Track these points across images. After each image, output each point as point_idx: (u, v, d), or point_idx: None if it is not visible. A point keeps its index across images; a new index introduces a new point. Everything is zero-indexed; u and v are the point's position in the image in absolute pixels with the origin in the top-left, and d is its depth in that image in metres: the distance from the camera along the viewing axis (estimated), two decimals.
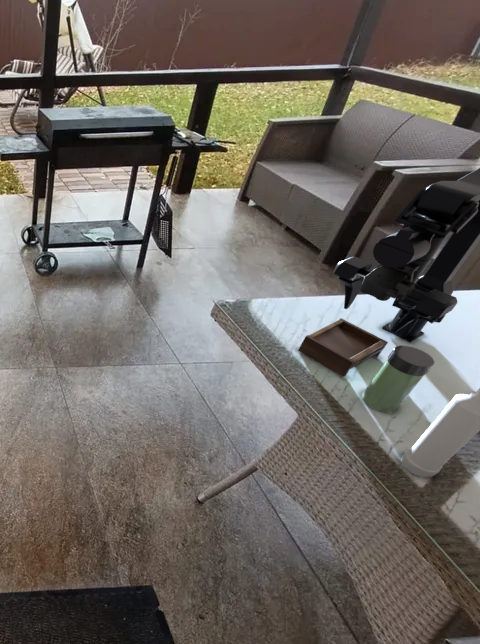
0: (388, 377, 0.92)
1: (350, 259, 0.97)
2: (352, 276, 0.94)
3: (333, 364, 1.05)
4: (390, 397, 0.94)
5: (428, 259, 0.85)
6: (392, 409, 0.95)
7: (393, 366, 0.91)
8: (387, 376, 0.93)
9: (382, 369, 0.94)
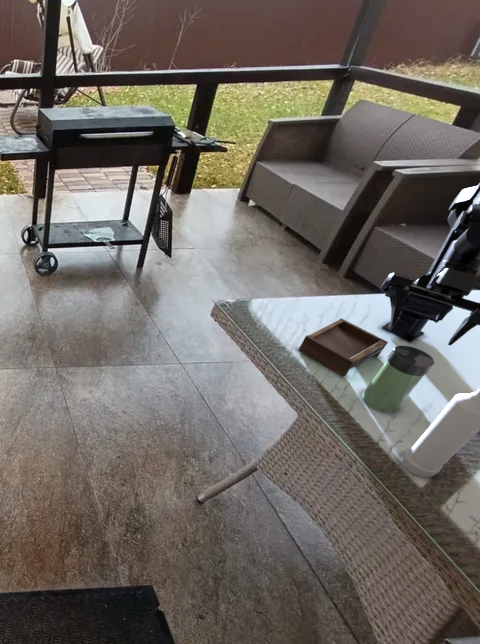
0: (388, 377, 0.92)
1: None
2: (410, 283, 0.95)
3: (333, 364, 1.05)
4: (390, 397, 0.94)
5: (478, 269, 0.92)
6: (392, 409, 0.95)
7: (393, 366, 0.91)
8: (387, 376, 0.93)
9: (382, 369, 0.94)
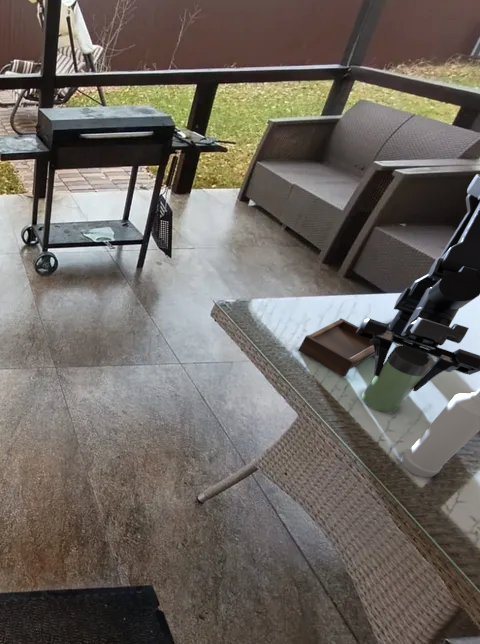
0: (388, 377, 0.92)
1: None
2: (385, 331, 0.94)
3: (333, 364, 1.05)
4: (390, 397, 0.94)
5: (453, 318, 0.91)
6: (392, 409, 0.95)
7: (393, 366, 0.91)
8: (387, 376, 0.93)
9: (382, 369, 0.94)
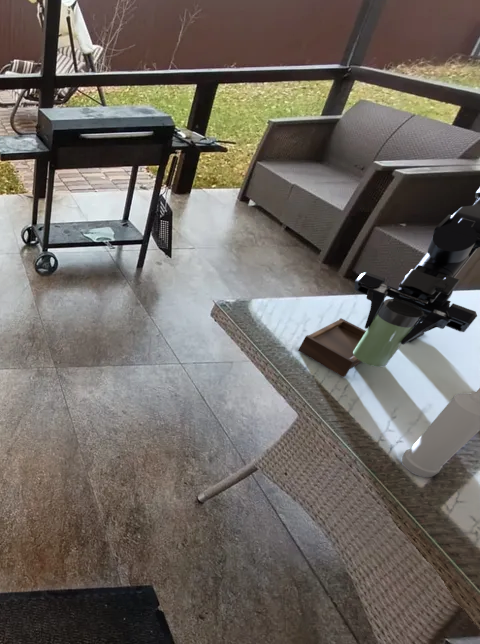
0: (376, 328, 0.94)
1: None
2: (379, 283, 0.95)
3: (333, 364, 1.05)
4: (377, 350, 0.95)
5: (453, 274, 0.90)
6: (380, 363, 0.96)
7: (381, 317, 0.92)
8: (375, 327, 0.94)
9: (372, 321, 0.95)
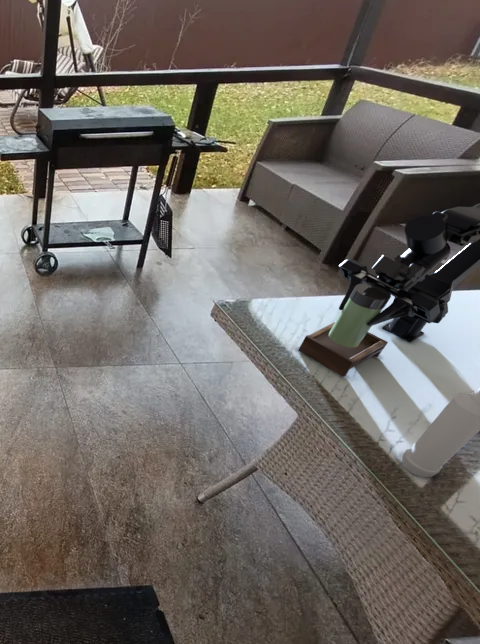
0: (346, 309, 1.02)
1: None
2: (358, 269, 1.02)
3: (333, 364, 1.05)
4: (345, 329, 1.02)
5: (430, 266, 0.95)
6: (349, 343, 1.03)
7: (350, 298, 1.00)
8: (345, 308, 1.02)
9: (346, 303, 1.03)
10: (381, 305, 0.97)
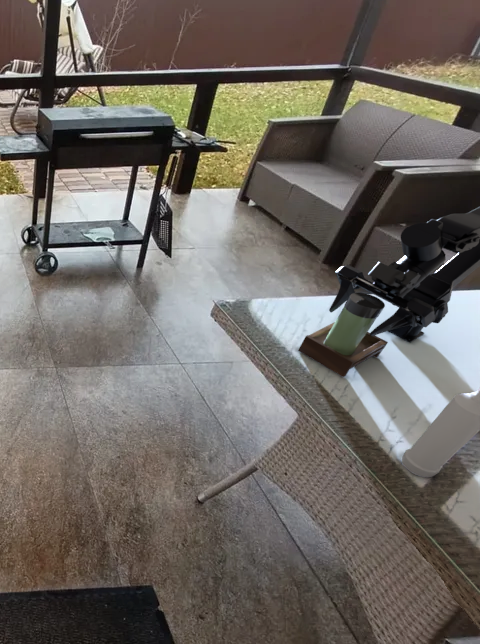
0: (340, 317, 1.03)
1: None
2: (354, 275, 1.03)
3: (333, 364, 1.05)
4: (340, 338, 1.04)
5: (425, 273, 0.96)
6: (344, 351, 1.05)
7: (345, 307, 1.02)
8: (340, 317, 1.03)
9: None
10: (375, 314, 0.98)
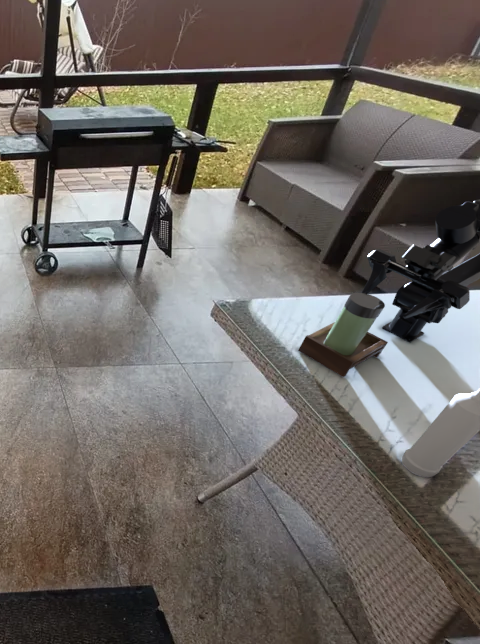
0: (340, 317, 1.03)
1: None
2: (387, 259, 1.04)
3: (333, 364, 1.05)
4: (340, 338, 1.04)
5: (459, 256, 0.98)
6: (344, 351, 1.05)
7: (345, 307, 1.02)
8: (340, 317, 1.03)
9: None
10: (375, 314, 0.98)
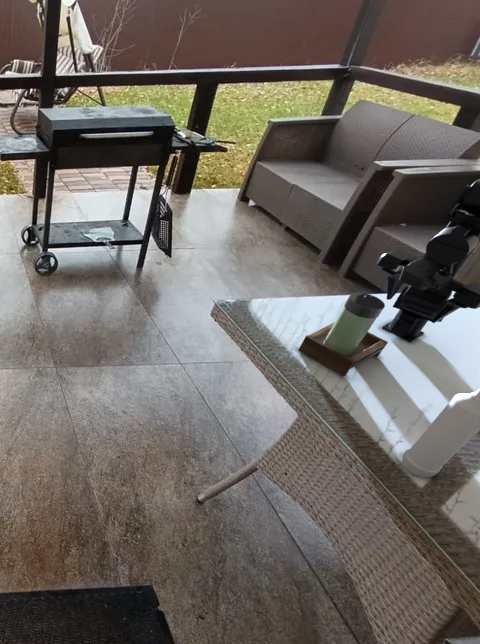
0: (340, 317, 1.03)
1: (395, 252, 1.02)
2: (394, 267, 1.00)
3: (333, 364, 1.05)
4: (340, 338, 1.04)
5: (472, 252, 0.90)
6: (344, 351, 1.05)
7: (345, 307, 1.02)
8: (340, 317, 1.03)
9: None
10: (375, 314, 0.98)
